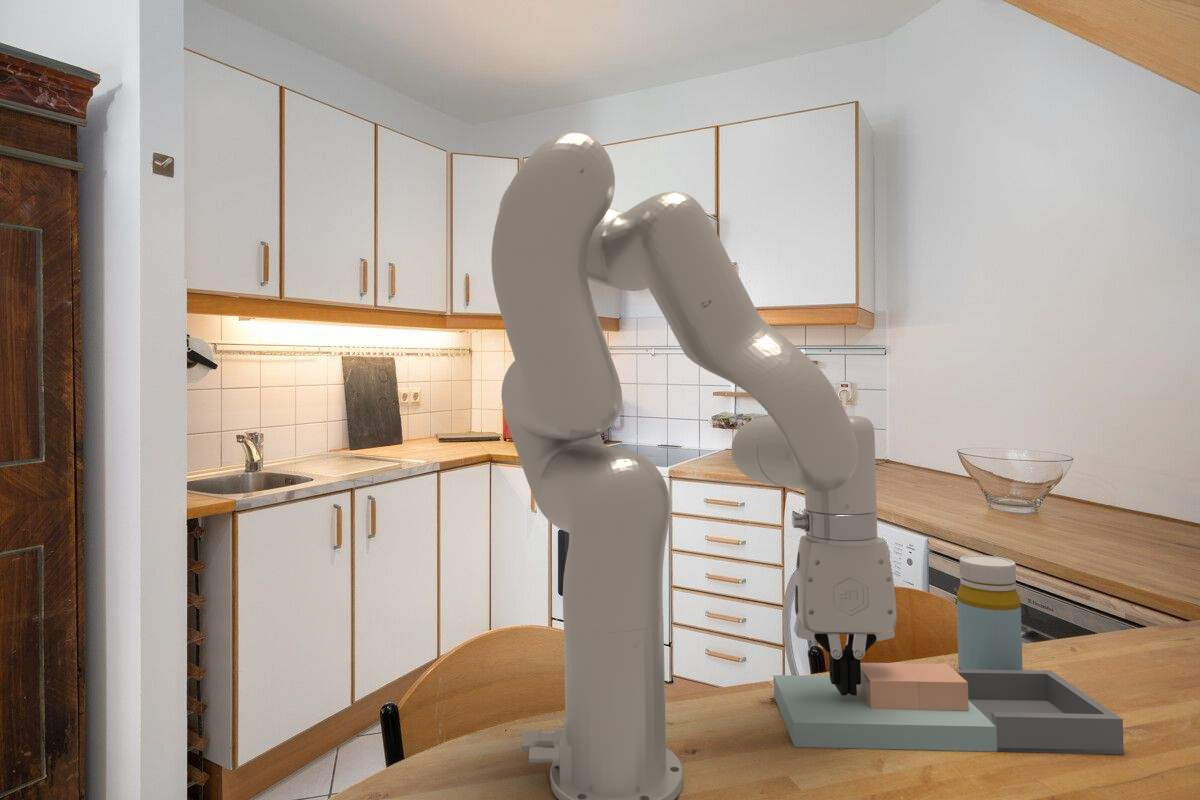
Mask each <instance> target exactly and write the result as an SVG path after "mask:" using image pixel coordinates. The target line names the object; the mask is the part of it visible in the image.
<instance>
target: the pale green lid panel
mask: <svg viewBox="0 0 1200 800" xmlns="http://www.w3.org/2000/svg"><path fill="white" fill-rule="evenodd" d="M772 676H773V677H772V678H773V697H774V699H775V702H776V705H777V707H778V710H779V712H780V715H781V716H782V720H783V721H784V722H783V723H784V725H785V727H786V729H787V732H788V735H789V736H790V739H791V742H792V744H793V747H794V748H827V749H829V748H830V749H831V748H833V749H869V750H870V749H871V750H874V749H875V750H880V749H881V750H909V751H910V750H911V751H912V750H913V751H916V750H918V751H921V750H922V751H951V752H952V751H957V752H958V751H961V752H966V751H967V752H997V727H996V726H995V725H994V724H993V723H992V722H991V721H990V720H989V719H988V718H987V717H986V716H985V715H984V714H983V713H982V712H980V711H979V710H978V709H977V708H976V707H975V706H974V705H973V704H972V703H971V702H970V701H969V700H968V706H969V711H954V710H909V709H871V708H870V707H869V705H868V704H867V702H866V701H865V699H864V698H863V696H862V695H861V694H860V692H859V691H858V689H857V696H852V695H851V694H849V693H848V694H847V695H846V696H845V695H841V694H840V692H839V691H838V689H837V688H836V686H835V684H832V683H831V681H830V675H793V674H791V675H790V674H788V675H787V674H781V675H780V674H773V675H772Z"/></svg>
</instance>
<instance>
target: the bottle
mask: <svg viewBox="0 0 1200 800" xmlns="http://www.w3.org/2000/svg"><path fill="white" fill-rule="evenodd" d="M959 575H960V577H959V578H960V579H959V582H960V584H959V587H958V589H957V592H956V617H957V618H956V619H957V621H956V622H957V623H956V624H957V627H956V628H957V629H956V630H957V659H958V662H957V663H958V669H973V670H1023V669H1024V668H1023V642H1022V641H1023V639H1022V637H1023V635H1022V605H1021V599H1020V596H1019V594H1018V591H1017V582H1016V580H1017V564H1016V562H1015V561H1014V560H1012V559H1009V558H1006V557H1005V558H1004V557H1000V556H994V555H993V556H991V555H981V554H973V555H972V554H969V555H964V556H960V557H959Z"/></svg>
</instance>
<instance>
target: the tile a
mask: <svg viewBox="0 0 1200 800" xmlns="http://www.w3.org/2000/svg"><path fill="white" fill-rule="evenodd" d="M860 665H861V684H860V685H857V689H858V691H859V692H860V694H861V695H862V696H863V698H864V699H865V701H866V702H867V704H868V705H869V707H870V708H871V709H909V710H919V681H918V680H917V679H916V678H915V677H914V676H913V675H912V674H911V673H910V672H909V671H908V670H907V668H906V667H905V666H904V665H903V664H902V662H860Z"/></svg>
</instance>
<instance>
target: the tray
mask: <svg viewBox="0 0 1200 800" xmlns="http://www.w3.org/2000/svg"><path fill="white" fill-rule="evenodd" d="M953 669H954V670H955V671H956V672H957V673H958V674H959V675H960V676H961V677H962V678H964V679H965V680H966V681H967V682H968V700H969V701H970V702H971V703H972V704H973V705H974V706H975V707H976V708H977V709H978V710H979V711H980V712H982V713H983V714H984V715H985V716H986V717H987V718H988V719H989V720H990V721H991V722H992V723H993V724H994V725H995V726H996V727H997V752H1000V753H1001V752H1002V753H1044V754H1046V753H1047V754H1082V755H1083V754H1087V755H1088V754H1089V755H1091V754H1092V755H1093V754H1094V755H1124V753H1125V752H1124V747H1125V746H1124V721H1123V719H1124V718H1122V717H1120V716H1118V715H1117V714H1116V713H1114V712H1113V711H1112V710H1110V709H1109V708H1107V707H1106V706H1104V705H1103V704H1101V703H1099V702H1098V701H1096V700H1095V699H1094V698H1092V697H1090V696H1089V695H1088V694H1087V693H1085V692H1083V691H1082V690H1080V689H1079V688H1077V687H1076V686H1075V685H1073V684H1072V683H1070V682H1068V681H1067V680H1065V679H1064V678H1063V677H1061V676H1059V675H1058V674H1056V672H1053V671H1052V670H1045V669H1044V670H1043V669H1042V670H1040V669H1039V670H1036V669H1034V670H1033V669H1032V670H1031V669H1024V670H973V669H959V668H956V669H955V668H953Z"/></svg>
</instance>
